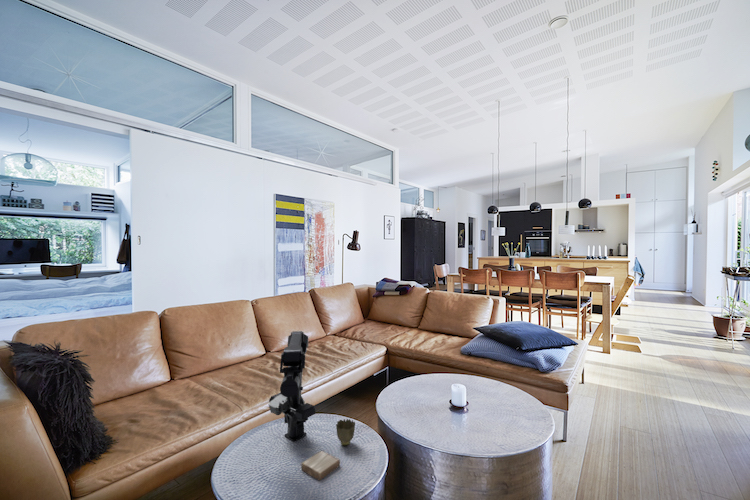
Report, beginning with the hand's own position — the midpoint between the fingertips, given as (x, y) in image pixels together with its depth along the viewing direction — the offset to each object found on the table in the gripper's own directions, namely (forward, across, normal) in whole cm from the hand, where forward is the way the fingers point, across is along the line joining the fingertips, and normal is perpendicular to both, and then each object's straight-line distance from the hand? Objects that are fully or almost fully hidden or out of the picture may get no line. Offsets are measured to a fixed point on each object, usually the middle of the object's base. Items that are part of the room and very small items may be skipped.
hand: (291, 429), depth 116 cm
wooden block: (+11, +5, +5) cm, 13 cm away
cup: (+12, +7, +21) cm, 25 cm away
